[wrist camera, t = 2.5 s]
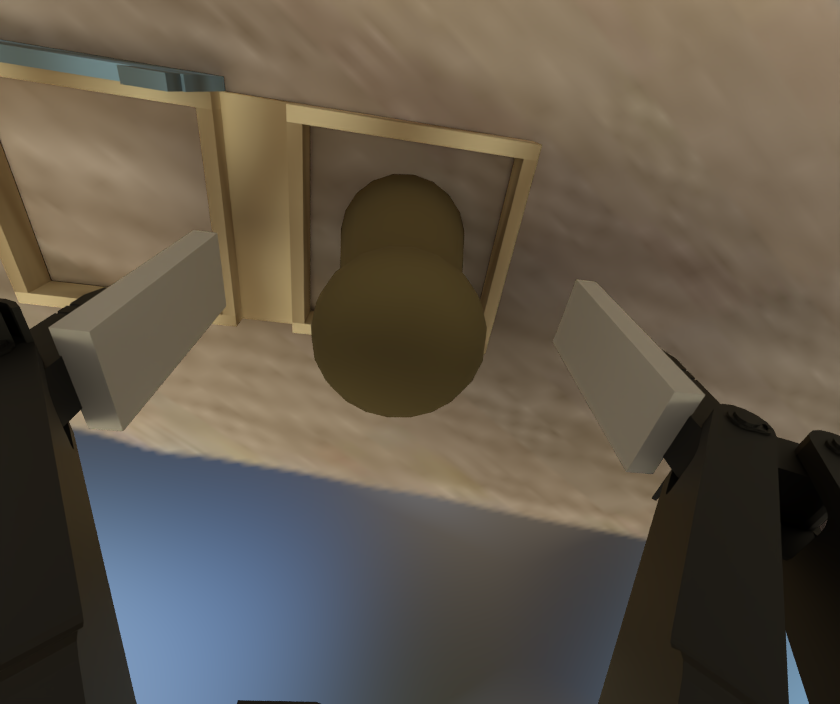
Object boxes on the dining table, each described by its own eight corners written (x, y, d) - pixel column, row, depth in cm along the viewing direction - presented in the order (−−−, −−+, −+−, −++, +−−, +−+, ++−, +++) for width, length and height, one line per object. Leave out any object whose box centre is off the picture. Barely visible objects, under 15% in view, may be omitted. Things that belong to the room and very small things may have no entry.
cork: (327, 183, 19) (248, 277, 9) (459, 164, 18) (511, 241, 9) (355, 302, 22) (317, 458, 13) (468, 287, 22) (513, 436, 12)
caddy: (536, 128, 18) (570, 139, 14) (480, 339, 23) (495, 387, 20) (-58, 30, 15) (-209, 11, 12) (42, 290, 21) (-37, 334, 17)
